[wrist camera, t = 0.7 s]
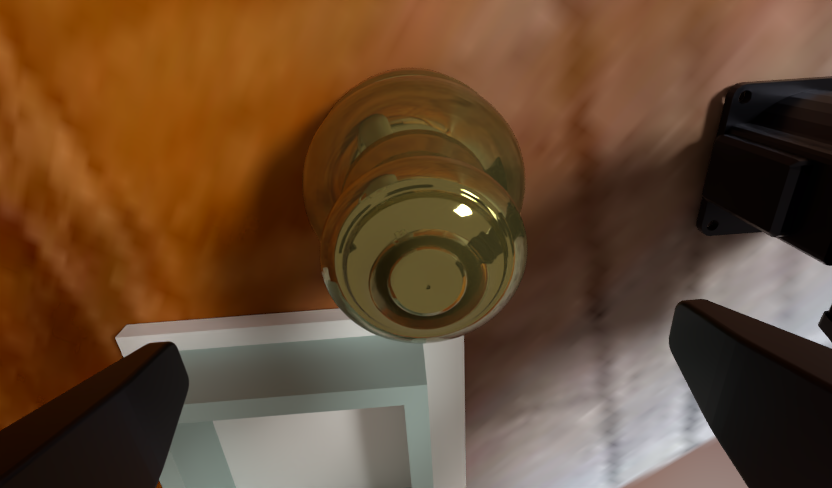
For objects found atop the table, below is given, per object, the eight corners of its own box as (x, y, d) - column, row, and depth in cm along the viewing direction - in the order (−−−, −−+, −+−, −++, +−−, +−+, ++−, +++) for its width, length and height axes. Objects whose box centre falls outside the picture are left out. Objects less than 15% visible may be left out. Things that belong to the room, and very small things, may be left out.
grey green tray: (460, 298, 22) (476, 361, 18) (463, 489, 28) (476, 567, 24) (126, 324, 21) (65, 394, 17) (204, 511, 28) (172, 594, 24)
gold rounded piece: (298, 82, 17) (198, 144, 8) (491, 49, 17) (604, 77, 8) (341, 251, 20) (303, 430, 11) (504, 226, 20) (595, 385, 11)
